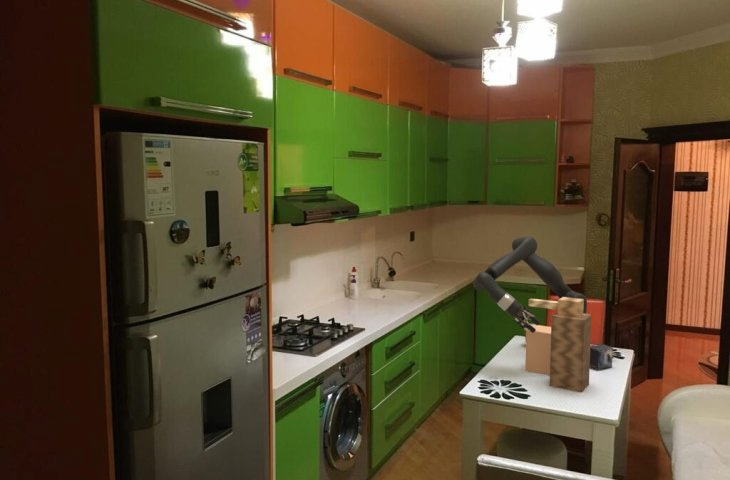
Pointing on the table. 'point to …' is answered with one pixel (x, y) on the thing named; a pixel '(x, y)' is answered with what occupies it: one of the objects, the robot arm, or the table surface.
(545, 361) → the pedestal
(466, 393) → the table surface
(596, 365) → the small box
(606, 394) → the table surface
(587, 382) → the walnut block
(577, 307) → the mallet
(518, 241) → the robot arm
